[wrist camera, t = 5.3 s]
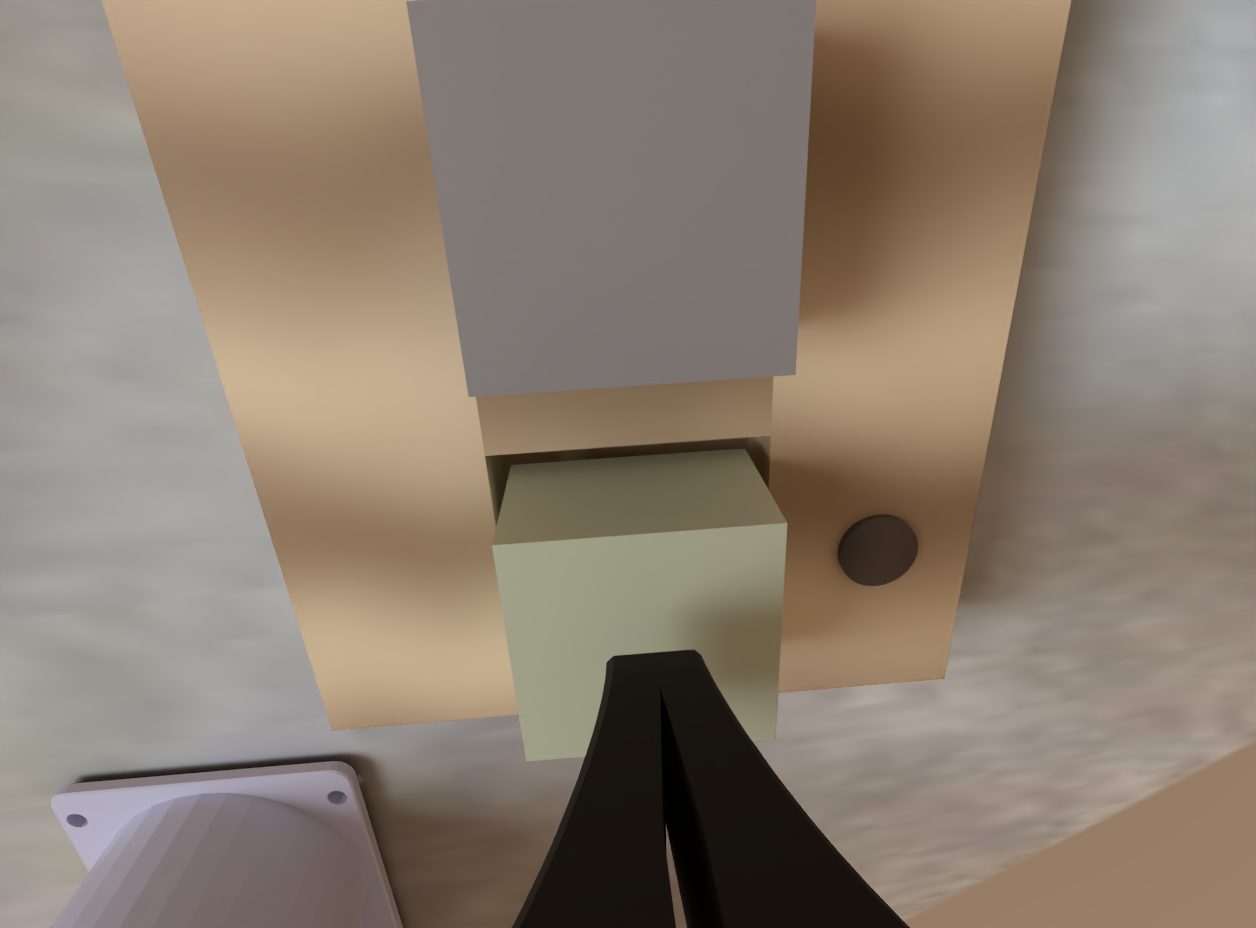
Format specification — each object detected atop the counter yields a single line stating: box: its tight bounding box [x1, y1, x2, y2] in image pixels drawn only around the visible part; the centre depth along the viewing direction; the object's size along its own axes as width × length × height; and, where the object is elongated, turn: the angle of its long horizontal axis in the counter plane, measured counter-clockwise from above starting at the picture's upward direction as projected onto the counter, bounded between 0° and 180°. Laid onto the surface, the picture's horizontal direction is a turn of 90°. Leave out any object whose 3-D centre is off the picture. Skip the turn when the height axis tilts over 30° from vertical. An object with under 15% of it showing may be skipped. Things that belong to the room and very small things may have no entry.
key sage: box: [492, 448, 787, 762], centre depth 13 cm, size 5×5×3 cm
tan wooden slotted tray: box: [102, 0, 1071, 731], centre depth 12 cm, size 21×14×3 cm, turn 3°
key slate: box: [406, 0, 816, 397], centre depth 10 cm, size 5×5×3 cm
